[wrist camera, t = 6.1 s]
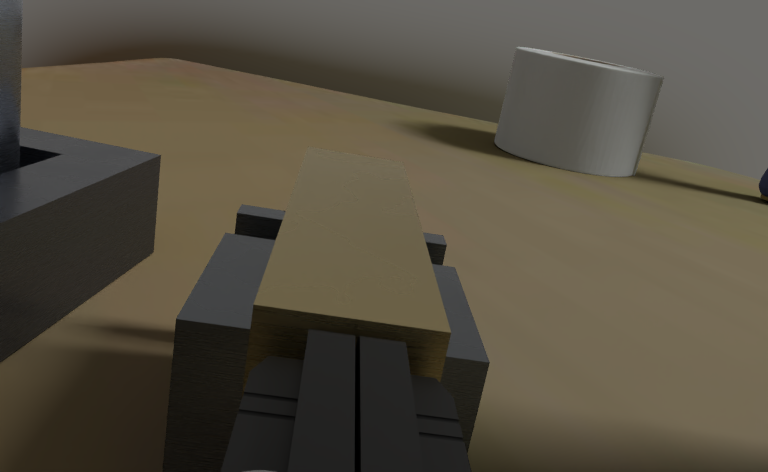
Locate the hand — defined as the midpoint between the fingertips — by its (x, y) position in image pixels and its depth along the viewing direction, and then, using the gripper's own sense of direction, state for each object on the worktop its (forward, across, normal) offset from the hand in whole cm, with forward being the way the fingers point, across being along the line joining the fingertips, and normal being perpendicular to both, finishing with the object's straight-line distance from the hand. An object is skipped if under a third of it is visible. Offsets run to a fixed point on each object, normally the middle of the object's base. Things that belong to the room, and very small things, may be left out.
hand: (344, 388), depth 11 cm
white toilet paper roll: (+66, -24, +7) cm, 71 cm away
